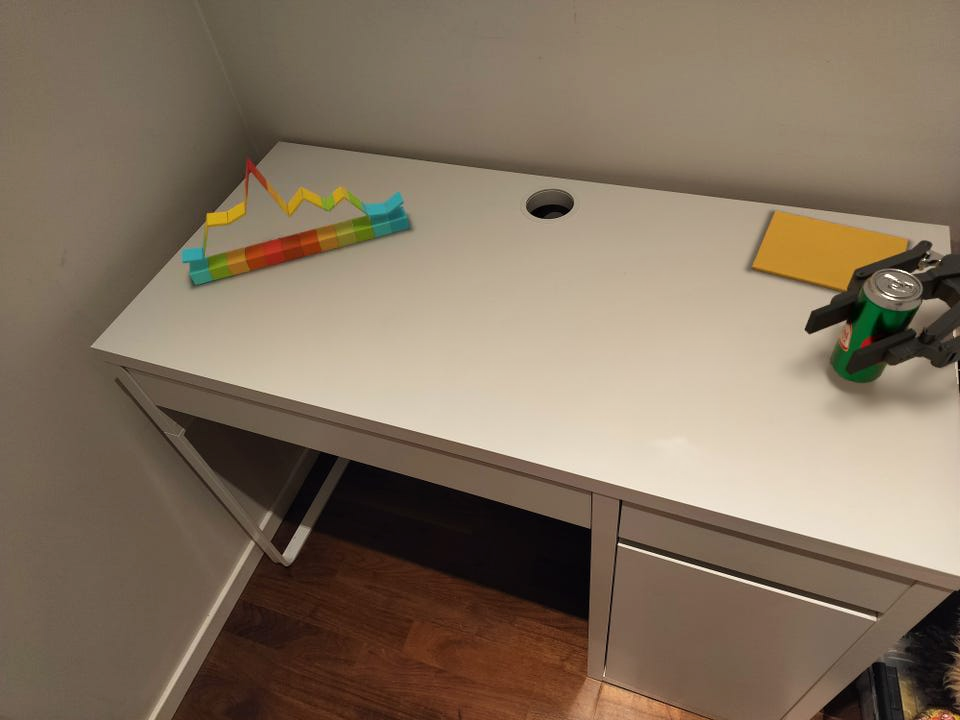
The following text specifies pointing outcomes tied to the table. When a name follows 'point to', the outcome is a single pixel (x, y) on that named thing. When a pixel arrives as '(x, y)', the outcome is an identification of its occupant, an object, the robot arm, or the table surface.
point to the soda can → (877, 319)
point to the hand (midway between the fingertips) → (830, 342)
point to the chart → (295, 244)
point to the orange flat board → (821, 250)
